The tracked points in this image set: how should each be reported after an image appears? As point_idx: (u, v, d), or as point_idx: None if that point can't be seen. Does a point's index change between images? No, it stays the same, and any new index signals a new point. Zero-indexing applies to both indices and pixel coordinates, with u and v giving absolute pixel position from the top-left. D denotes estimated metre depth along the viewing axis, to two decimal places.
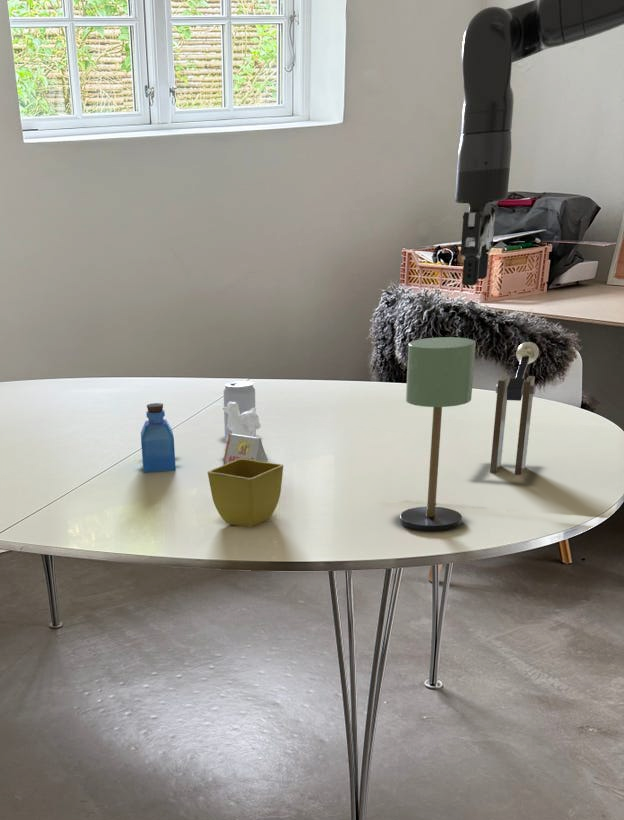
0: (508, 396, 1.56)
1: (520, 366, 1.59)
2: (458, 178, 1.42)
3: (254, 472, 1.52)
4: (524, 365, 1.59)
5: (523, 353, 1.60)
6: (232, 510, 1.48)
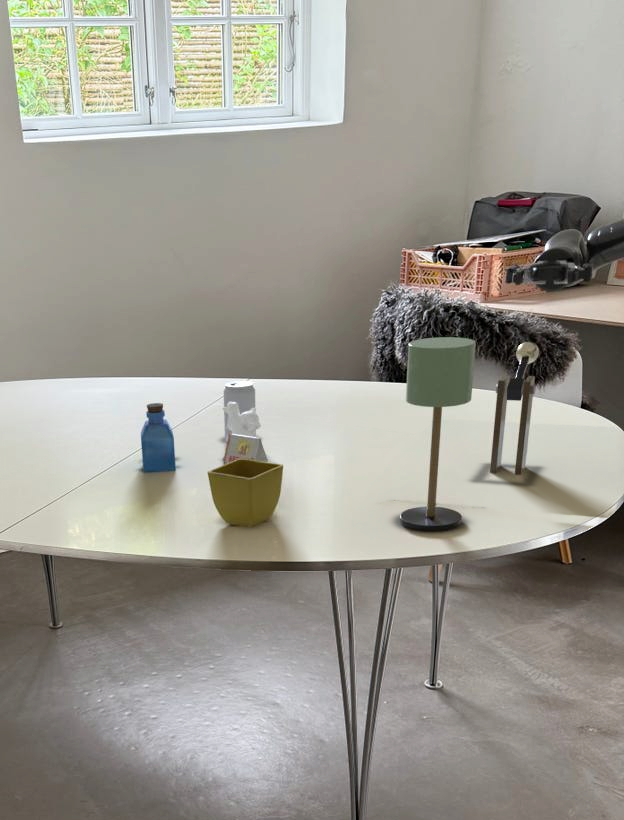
0: (508, 396, 1.56)
1: (520, 366, 1.59)
2: (569, 249, 1.74)
3: (254, 471, 1.52)
4: (524, 365, 1.59)
5: (523, 353, 1.60)
6: (232, 510, 1.48)
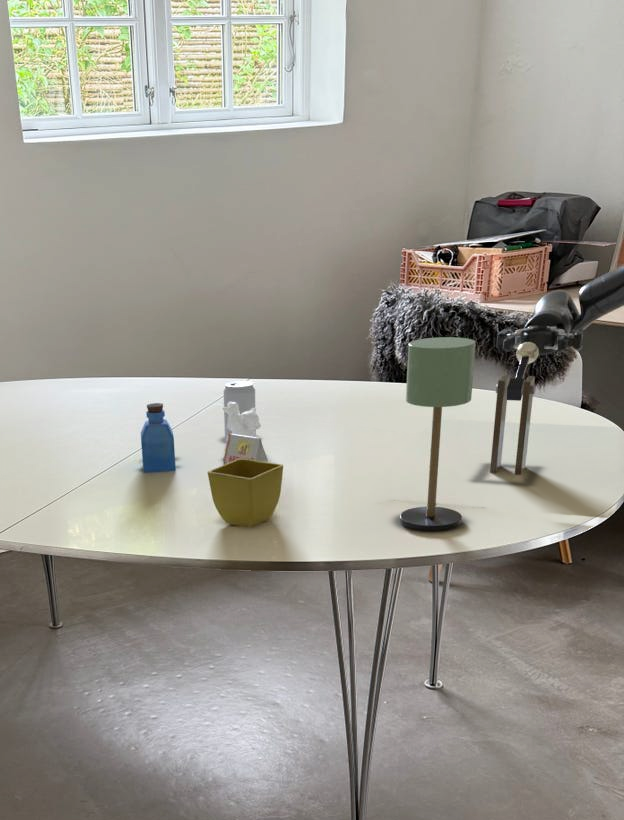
0: (508, 396, 1.56)
1: (520, 366, 1.59)
2: (559, 314, 1.76)
3: (254, 471, 1.52)
4: (524, 365, 1.59)
5: (523, 353, 1.60)
6: (232, 510, 1.48)
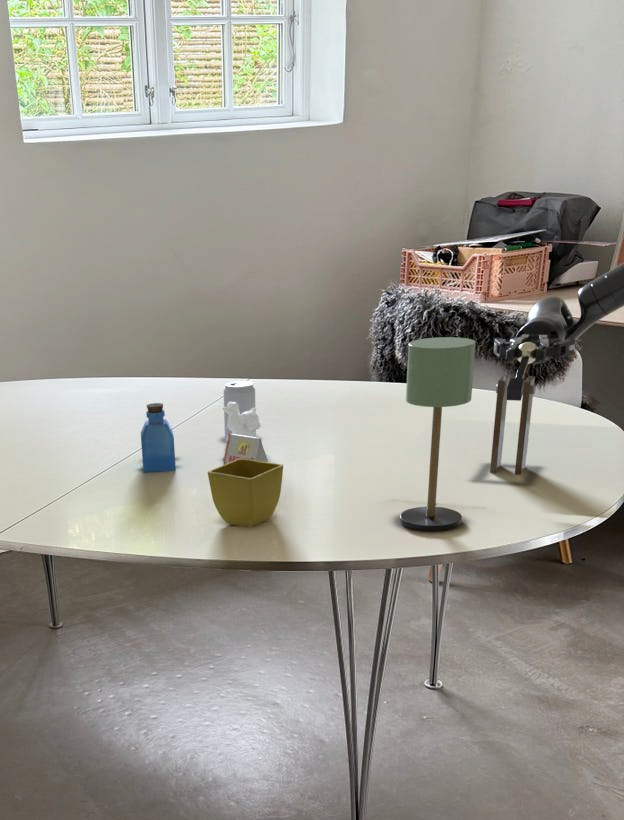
0: (508, 396, 1.56)
1: (520, 366, 1.59)
2: (553, 321, 1.69)
3: (254, 471, 1.52)
4: (524, 365, 1.59)
5: (523, 353, 1.60)
6: (232, 510, 1.48)
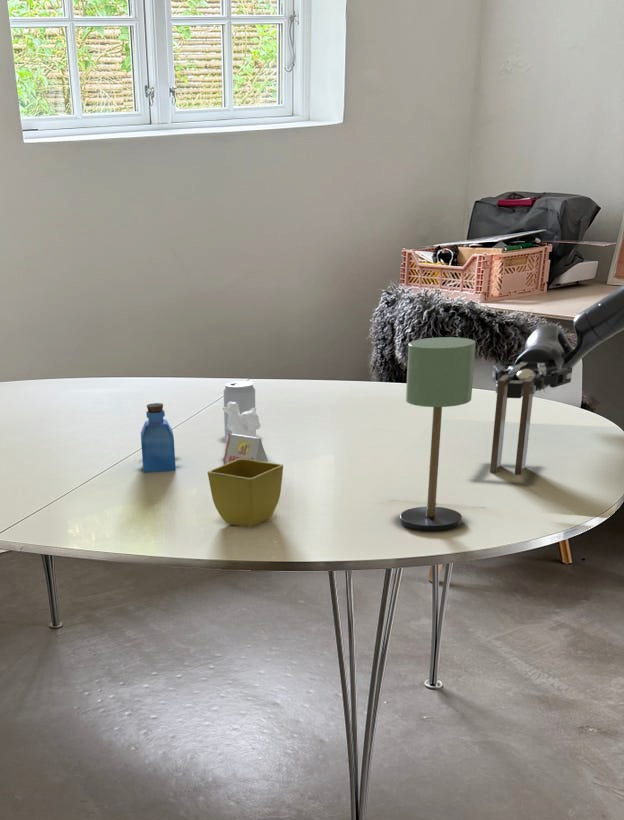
0: (508, 393, 1.56)
1: (519, 380, 1.61)
2: (550, 350, 1.72)
3: (254, 471, 1.52)
4: (523, 380, 1.60)
5: (522, 375, 1.63)
6: (232, 510, 1.48)
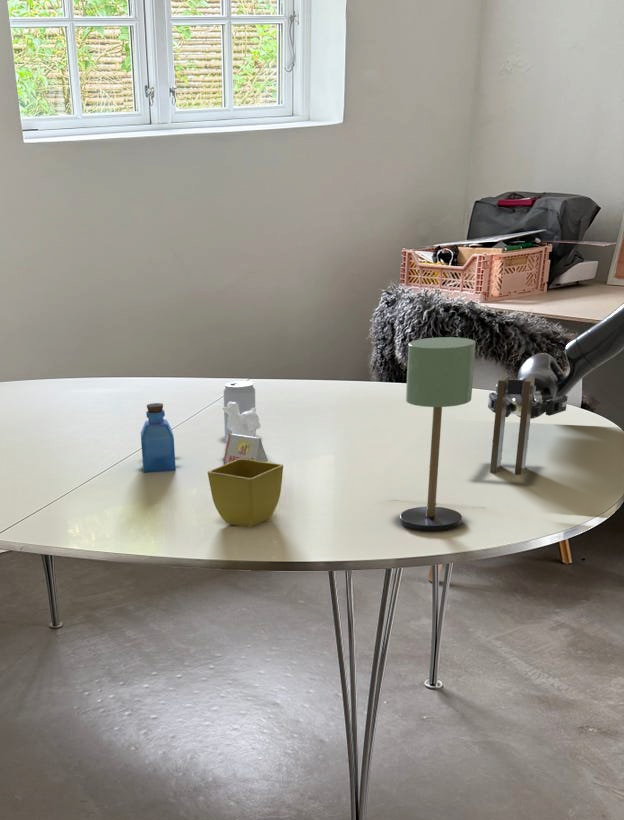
0: (508, 389, 1.55)
1: None
2: (545, 378, 1.74)
3: (254, 471, 1.52)
4: None
5: None
6: (232, 510, 1.48)
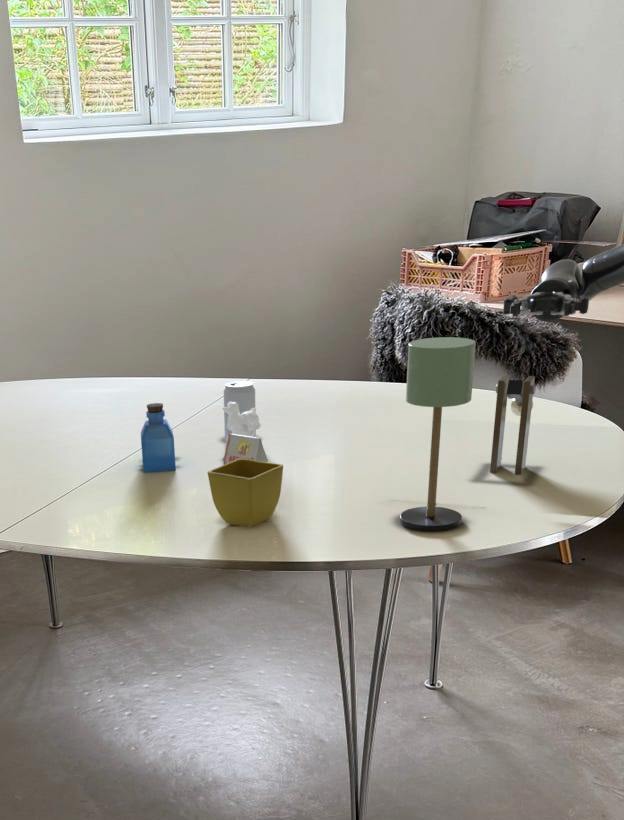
0: (508, 389, 1.55)
1: None
2: (566, 280, 1.76)
3: (254, 471, 1.52)
4: None
5: None
6: (232, 510, 1.48)
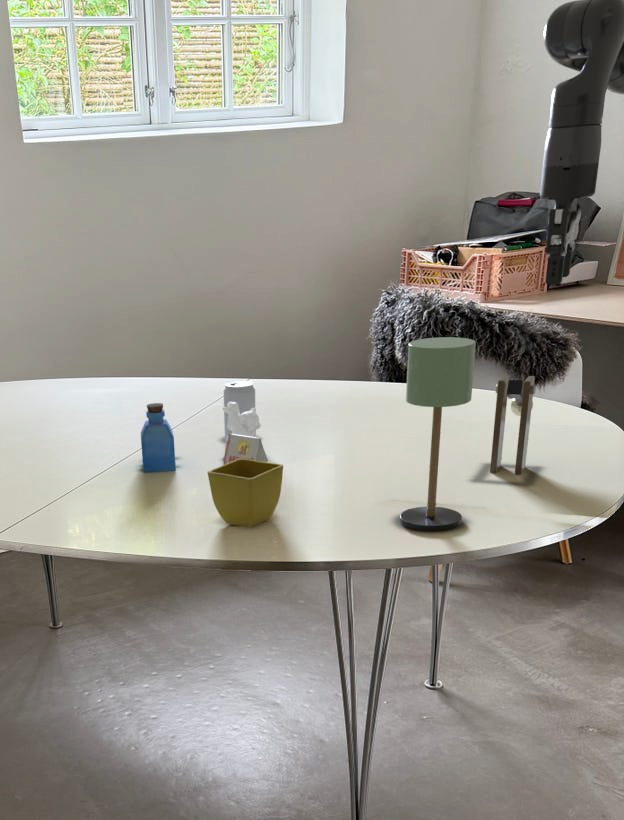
0: (508, 389, 1.55)
1: None
2: None
3: (254, 471, 1.52)
4: None
5: None
6: (232, 510, 1.48)
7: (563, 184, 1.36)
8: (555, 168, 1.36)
